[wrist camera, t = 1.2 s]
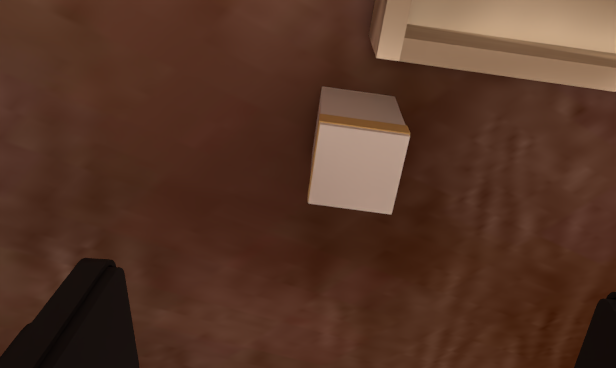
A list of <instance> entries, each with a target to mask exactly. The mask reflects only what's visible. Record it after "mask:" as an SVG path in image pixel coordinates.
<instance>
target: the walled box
mask: <svg viewBox="0 0 616 368" xmlns="http://www.w3.org/2000/svg"><path fill="white" fill-rule="evenodd" d="M369 38H370V41H371V44H372V47H373V50H374V53H375V56H376V58H380V59H387V60H394V61H401V62H408V63H415V64H422V65H429V66H437V67H444V68H451V69H458V70H465V71H472V72H479V73H486V74H493V75H500V76H507V77H514V78H521V79H528V80H535V81H543V82H550V83H557V84H564V85H571V86H578V87H585V88H592V89H599V90H606V91H613V92H616V0H375V3H374V8H373V14H372V19H371V25H370V30H369Z"/></svg>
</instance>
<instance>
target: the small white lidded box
mask: <svg viewBox="0 0 616 368" xmlns="http://www.w3.org/2000/svg"><path fill="white" fill-rule="evenodd" d="M409 139H410V131H409V129H408V126H406V125H405V122H404V120H403V117H402V114H401V112H400V109H399V106H398V104H397V101H396V98H395V96H388V95H381V94H374V93H367V92H359V91H352V90H345V89H338V88H331V87H324V86H322V89H321V96H320V103H319V110H318V116H317V123H316V130H315V137H314V144H313V150H312V160H311V174H310V182H309V189H308V198H307V201H308V203H309V204H316V205H324V206H331V207H339V208H346V209H354V210H361V211H368V212H376V213H383V214H391V215H392V211H393V206H394V202H395V198H396V194H397V189H398V185H399V181H400V177H401V172H402V168H403V164H404V160H405V155H406V151H407V147H408V143H409Z"/></svg>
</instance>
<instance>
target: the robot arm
mask: <svg viewBox="0 0 616 368" xmlns="http://www.w3.org/2000/svg"><path fill="white" fill-rule="evenodd" d="M0 368H139V361H138V355H137V349H136V343H135V336H134V330H133V324H132V318H131V311H130V305H129V299H128V293H127V286H126V280H125V274H124V270H123V269H122V268H119V267H116V264H115V262H114V261H113V260H108V259H92V258H83V259H81V260H80V261H79V262H78V263H77V265H76V266H75V267H74V269H73V270H72V271H71V272H70V274H69V275H68V276H67V278H66V279H65V280H64V281H63V283H62V284H61V285H60V287H59V288H58V289H57V291H56V292H55V293H54V294H53V296H52V297H51V298H50V300H49V301H48V302H47V303H46V305H45V306H44V307H43V309H42V310H41V311H40V312H39V314H38V315H37V316H36V318H35V319H34V320H33V321H32V323H30V324H27V325H26V326H25V327H24V328H23V329H22V330H21V331H20V333H19V334H18V335H17V337H16V338H15V339H14V340H13V342H12V343H11V344H10V345H9V347H8V348H7V349H6V351H5V352H4V353H3V354H2V356H1V357H0ZM574 368H616V292H612V293H610V294H609V295H608V296H607V298H606V299H601V300H600V301H599V302H598V304H597V306H596V309H595V312H594V314H593V317H592V320H591V323H590V325H589V328H588V331H587V334H586V336H585V339H584V342H583V345H582V347H581V350H580V353H579V356H578V358H577V361H576V364H575V367H574Z"/></svg>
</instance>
